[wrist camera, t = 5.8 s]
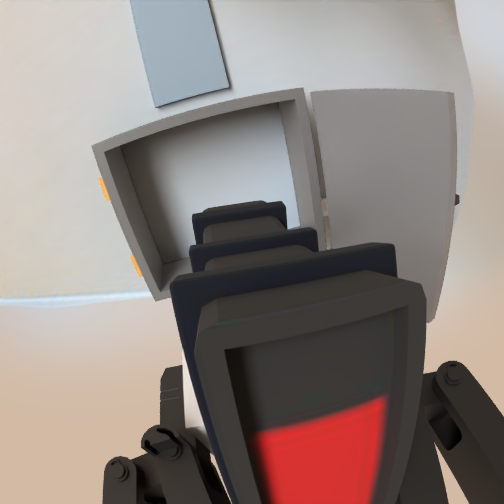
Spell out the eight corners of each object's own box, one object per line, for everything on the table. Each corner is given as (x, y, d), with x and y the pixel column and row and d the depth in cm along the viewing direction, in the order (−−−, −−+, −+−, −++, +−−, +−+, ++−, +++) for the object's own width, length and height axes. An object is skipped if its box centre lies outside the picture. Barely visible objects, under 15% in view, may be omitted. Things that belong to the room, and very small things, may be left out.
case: (104, 140, 27) (38, 172, 14) (321, 85, 29) (408, 81, 15) (155, 274, 36) (142, 367, 23) (340, 222, 38) (407, 287, 24)
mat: (129, -6, 20) (128, -7, 19) (200, -25, 20) (200, -27, 19) (155, 107, 27) (155, 107, 27) (228, 87, 28) (229, 87, 27)
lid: (447, 92, 11) (456, 92, 11) (310, 91, 23) (320, 90, 23) (428, 323, 20) (436, 316, 20) (331, 252, 31) (339, 248, 32)
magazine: (234, 404, 19) (271, 597, 4) (198, 216, 18) (128, 139, 3) (286, 394, 19) (374, 567, 4) (259, 207, 18) (419, 121, 3)
